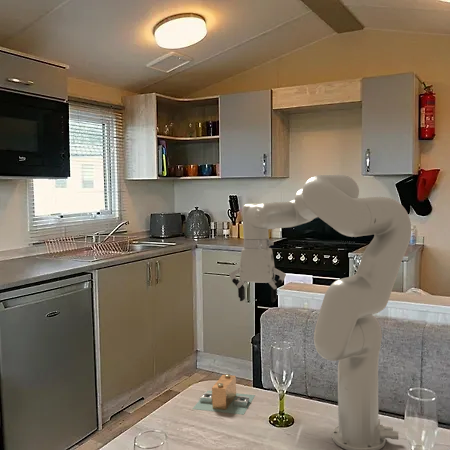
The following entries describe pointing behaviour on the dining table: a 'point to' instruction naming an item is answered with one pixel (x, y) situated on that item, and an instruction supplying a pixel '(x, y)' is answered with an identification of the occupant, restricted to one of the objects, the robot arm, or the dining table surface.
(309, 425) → the dining table surface
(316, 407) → the dining table surface
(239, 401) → the chain ends
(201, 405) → the board
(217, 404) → the wooden block with studs
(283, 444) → the dining table surface
